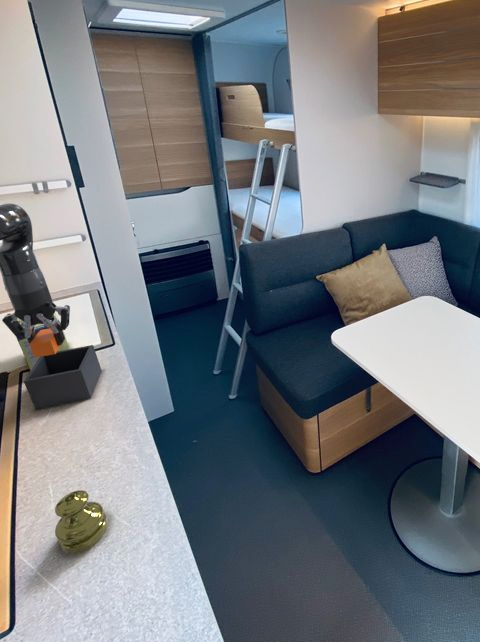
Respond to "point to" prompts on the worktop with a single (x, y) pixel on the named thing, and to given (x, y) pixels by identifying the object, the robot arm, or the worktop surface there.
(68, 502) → the olive gold metallic knob
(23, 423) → the worktop surface
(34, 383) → the trash bin
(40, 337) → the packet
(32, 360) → the protein box
